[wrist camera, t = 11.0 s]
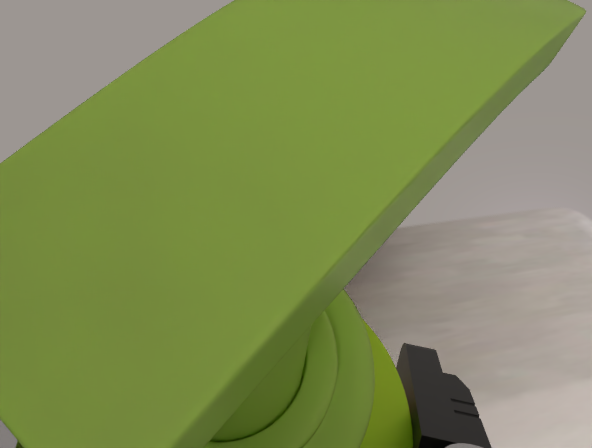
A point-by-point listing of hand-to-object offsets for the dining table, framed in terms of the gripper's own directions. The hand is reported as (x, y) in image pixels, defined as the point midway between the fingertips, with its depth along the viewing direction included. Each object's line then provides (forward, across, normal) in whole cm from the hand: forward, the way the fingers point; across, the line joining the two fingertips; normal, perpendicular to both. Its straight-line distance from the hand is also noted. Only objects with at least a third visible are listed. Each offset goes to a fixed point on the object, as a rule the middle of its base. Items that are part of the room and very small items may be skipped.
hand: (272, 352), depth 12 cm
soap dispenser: (+6, 0, +9) cm, 11 cm away
